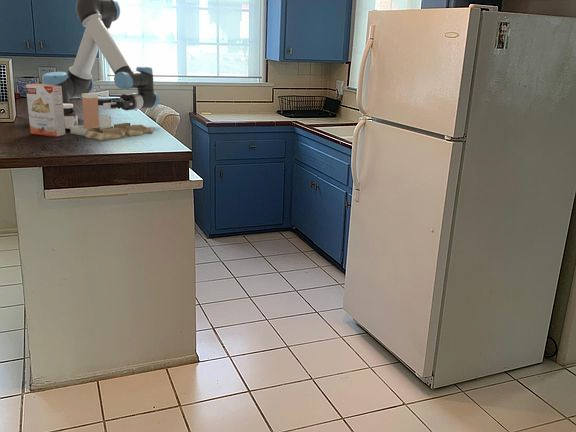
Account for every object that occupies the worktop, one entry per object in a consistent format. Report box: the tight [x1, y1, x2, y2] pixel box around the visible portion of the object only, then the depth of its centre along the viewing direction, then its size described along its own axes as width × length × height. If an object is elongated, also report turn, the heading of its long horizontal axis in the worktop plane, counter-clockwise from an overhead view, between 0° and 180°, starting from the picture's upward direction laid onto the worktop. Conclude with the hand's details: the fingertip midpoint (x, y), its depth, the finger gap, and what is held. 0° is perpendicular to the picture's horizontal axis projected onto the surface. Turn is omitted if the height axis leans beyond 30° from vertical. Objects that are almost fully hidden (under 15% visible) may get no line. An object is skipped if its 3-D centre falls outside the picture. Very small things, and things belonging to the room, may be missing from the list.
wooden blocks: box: [85, 122, 154, 141], centre depth 247 cm, size 12×28×4 cm, turn 148°
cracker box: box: [25, 83, 67, 138], centre depth 238 cm, size 14×6×21 cm, turn 70°
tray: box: [69, 124, 114, 137], centre depth 248 cm, size 12×14×3 cm
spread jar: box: [63, 103, 79, 133], centre depth 253 cm, size 12×11×12 cm
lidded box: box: [81, 92, 100, 129], centre depth 246 cm, size 5×5×16 cm
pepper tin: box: [98, 114, 112, 133], centre depth 239 cm, size 5×5×9 cm
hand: (93, 105), depth 246 cm, fingers open, 13 cm apart
